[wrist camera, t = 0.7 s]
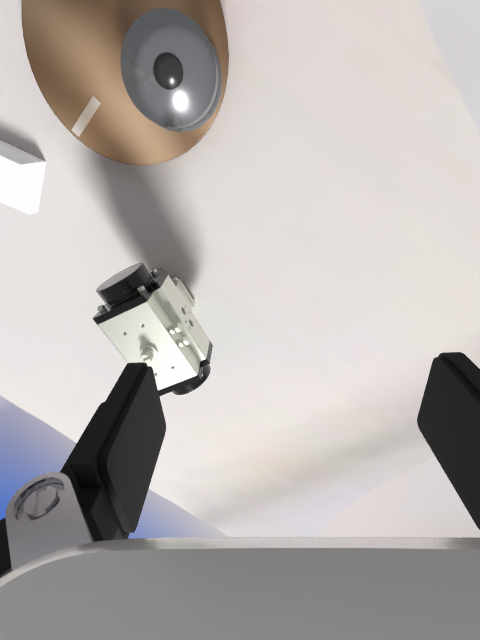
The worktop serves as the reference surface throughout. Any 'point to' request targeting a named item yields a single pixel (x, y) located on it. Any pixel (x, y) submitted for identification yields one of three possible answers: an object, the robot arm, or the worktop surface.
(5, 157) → the white switch plate
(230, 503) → the worktop surface
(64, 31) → the turntable
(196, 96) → the cover
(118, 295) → the pneumatic valve
